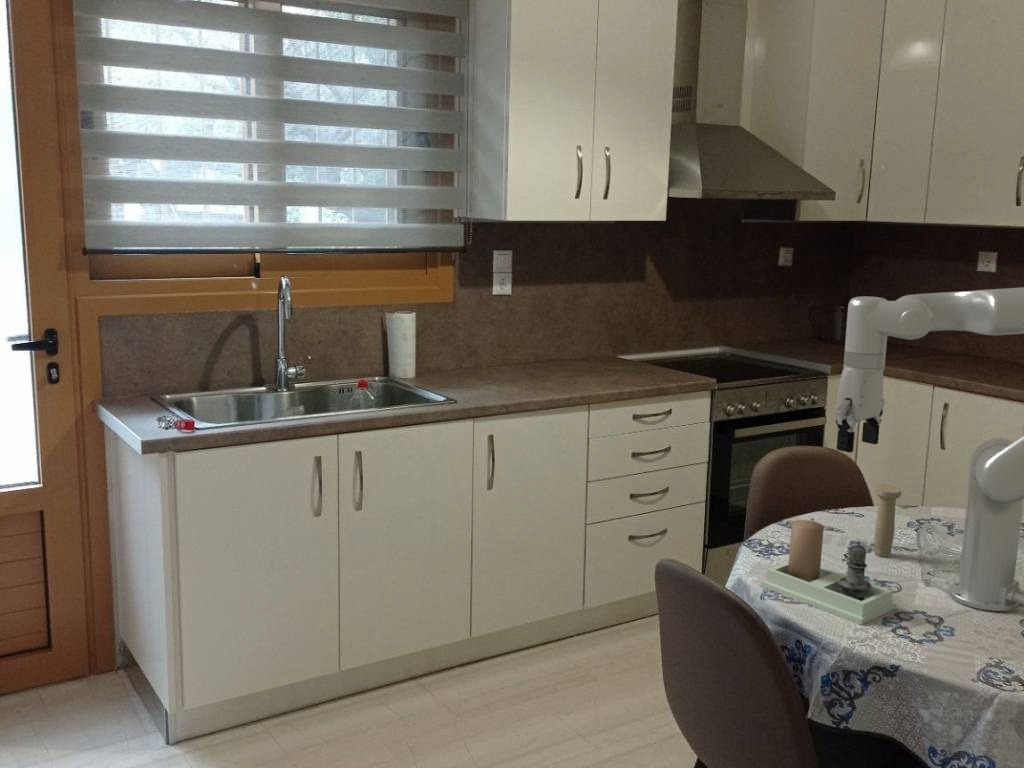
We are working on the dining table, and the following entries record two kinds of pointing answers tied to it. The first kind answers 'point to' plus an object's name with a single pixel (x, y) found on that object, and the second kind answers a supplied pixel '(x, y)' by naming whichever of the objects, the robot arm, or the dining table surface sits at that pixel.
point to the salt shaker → (855, 574)
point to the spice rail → (821, 579)
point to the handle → (885, 518)
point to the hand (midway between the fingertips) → (857, 446)
